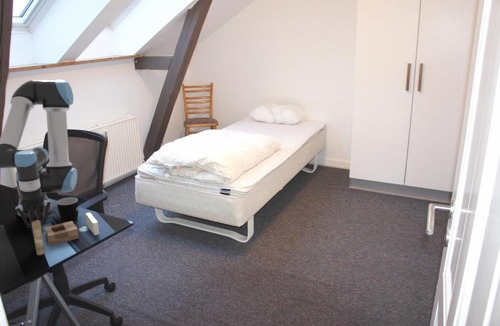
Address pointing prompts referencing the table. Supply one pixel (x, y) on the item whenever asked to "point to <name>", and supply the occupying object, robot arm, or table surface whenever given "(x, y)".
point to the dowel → (38, 237)
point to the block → (61, 233)
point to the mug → (68, 209)
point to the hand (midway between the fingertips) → (38, 240)
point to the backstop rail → (92, 223)
